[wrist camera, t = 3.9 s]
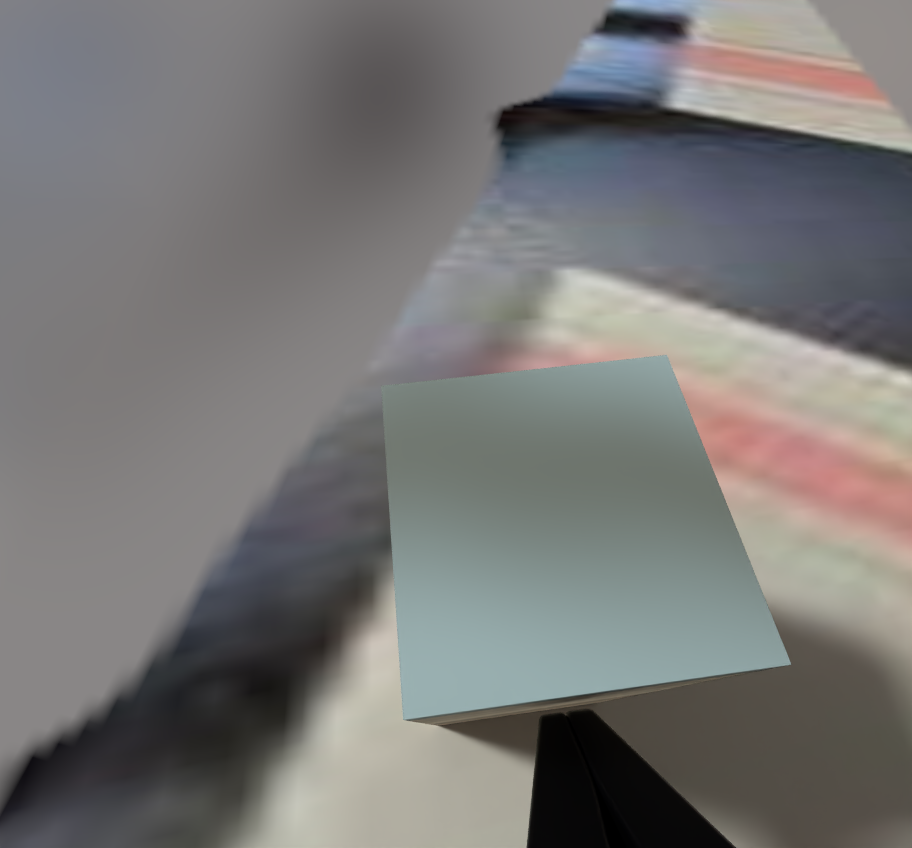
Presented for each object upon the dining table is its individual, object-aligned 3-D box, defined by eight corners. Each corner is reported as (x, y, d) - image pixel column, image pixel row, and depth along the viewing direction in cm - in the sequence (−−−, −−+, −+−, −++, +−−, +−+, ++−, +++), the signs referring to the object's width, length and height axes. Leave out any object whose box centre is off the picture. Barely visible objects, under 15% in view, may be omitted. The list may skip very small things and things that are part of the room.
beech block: (598, 702, 15) (791, 664, 6) (438, 725, 15) (403, 719, 6) (562, 545, 17) (666, 354, 8) (422, 563, 17) (381, 386, 8)
